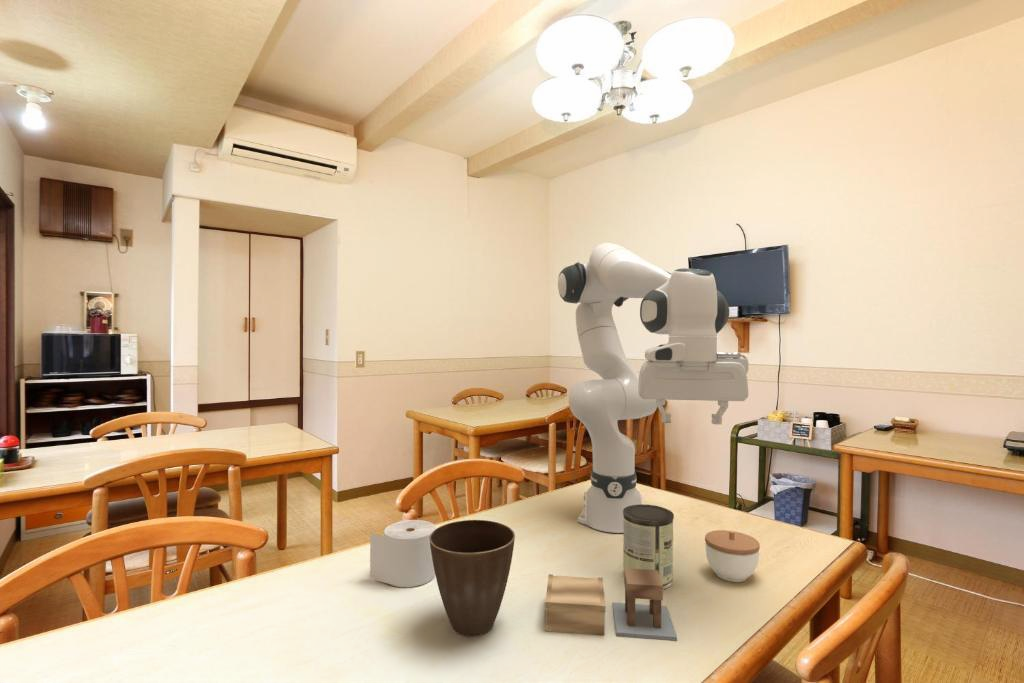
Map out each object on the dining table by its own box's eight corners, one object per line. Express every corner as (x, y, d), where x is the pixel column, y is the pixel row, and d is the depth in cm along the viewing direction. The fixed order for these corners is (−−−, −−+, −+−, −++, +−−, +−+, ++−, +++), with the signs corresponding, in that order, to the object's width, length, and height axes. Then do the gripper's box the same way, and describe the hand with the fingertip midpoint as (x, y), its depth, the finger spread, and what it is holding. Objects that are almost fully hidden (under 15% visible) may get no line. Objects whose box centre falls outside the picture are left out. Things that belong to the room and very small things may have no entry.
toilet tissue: (445, 575, 111) (446, 528, 111) (398, 596, 102) (398, 545, 102) (415, 560, 118) (415, 516, 118) (368, 578, 110) (368, 530, 109)
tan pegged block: (626, 626, 91) (627, 583, 91) (623, 608, 97) (624, 568, 97) (662, 629, 90) (662, 585, 90) (657, 610, 96) (657, 570, 96)
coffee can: (628, 564, 117) (628, 501, 117) (676, 573, 113) (677, 508, 112) (617, 584, 108) (617, 516, 107) (669, 595, 103) (669, 524, 103)
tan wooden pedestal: (548, 600, 101) (548, 574, 101) (602, 604, 100) (602, 577, 100) (545, 631, 91) (545, 601, 90) (605, 635, 89) (605, 606, 89)
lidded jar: (765, 590, 106) (765, 544, 105) (708, 584, 108) (709, 539, 108) (752, 566, 116) (752, 524, 116) (701, 562, 118) (701, 520, 118)
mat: (612, 605, 99) (612, 602, 99) (666, 609, 98) (666, 606, 98) (616, 636, 89) (616, 632, 89) (677, 640, 88) (677, 637, 88)
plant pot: (481, 662, 82) (482, 560, 82) (410, 632, 90) (411, 539, 90) (529, 618, 95) (530, 530, 94) (463, 595, 103) (464, 514, 102)
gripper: (743, 351, 103) (742, 422, 104) (637, 350, 106) (636, 419, 106) (754, 353, 97) (752, 427, 97) (640, 351, 100) (640, 424, 100)
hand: (691, 423), depth 102 cm, fingers open, 8 cm apart
